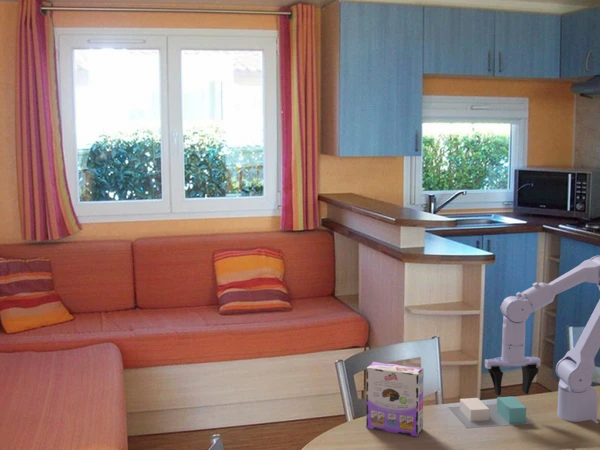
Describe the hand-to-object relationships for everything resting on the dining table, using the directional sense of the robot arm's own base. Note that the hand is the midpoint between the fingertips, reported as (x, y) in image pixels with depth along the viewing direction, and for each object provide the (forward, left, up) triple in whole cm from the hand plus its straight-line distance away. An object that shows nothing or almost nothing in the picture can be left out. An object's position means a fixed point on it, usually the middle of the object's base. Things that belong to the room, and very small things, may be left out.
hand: (511, 393), depth 194 cm
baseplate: (+5, -2, -8) cm, 9 cm away
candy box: (+32, 0, -8) cm, 33 cm away
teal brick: (0, 0, -6) cm, 7 cm away
